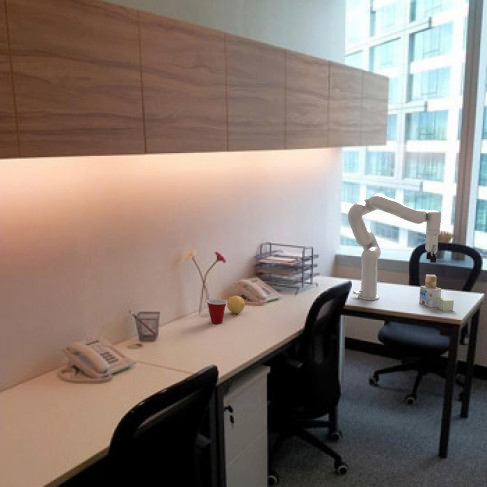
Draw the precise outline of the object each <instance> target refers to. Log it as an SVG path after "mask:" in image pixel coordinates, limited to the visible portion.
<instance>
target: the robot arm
mask: <svg viewBox="0 0 487 487" xmlns="http://www.w3.org/2000/svg"><path fill="white" fill-rule="evenodd" d="M376 210H378V211H382V212H384V213H387V214H391V215H393V216H395V217H398V218H400V219H402V220H405V221H407V222H411V223H414V224H416V225H417V224H418V225H420V224H423V223H426V225H425V226H426V228H425V235H426V239H425V250H426V257H425V258H426V260H429V263H430V264H436V263H437V255H438V254H437V252H438V250H439V248H438V246H439V244H438V243H439V236H440V234H441V221H442V219H441V218H442V212H441V211H440V210H426V209H414V208H412V207H409V206H407V205H405V204H403V203H402V201H399V200H396V199H394V198H390V197H387V196H386V195H385V194H383V193H377V194H374V195H372V196H371V197H369V198H366V199H363V200H361V201H358V202H356V203H354V204H353V205H352V206H351V207H350V208H349V210H348V213H347V221H348V224H349V226H350V229H351V232H352V234H353V236H354V238H355V241H356V244H357V246H359V247H361V248H363V251H362V253H361V258H360V259H361V260H360V261H361V262H360V263H361V276H360V277H361V278H360V279H361V282H360V284H361V286H360V289H359V290H353V291H352V294H354V295H357V297H358V299H360V300H364V301H376V300H379V299H380V296H379V295H378V294H377V292H378V290H377V289H378V259H380V257H381V253H382V252H381V248H380V246H379V243H378V240H377V239H376V236H375V234H374V233H373V232H372V231H371V230H370V229H367V227H366V224H365V222H364V220H363V216H365V215H367V214H369V213H371V212H374V211H376Z"/></svg>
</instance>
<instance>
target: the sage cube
mask: <svg viewBox="0 0 487 487" xmlns="http://www.w3.org/2000/svg"><path fill="white" fill-rule="evenodd" d="M454 303H455V300H454V299H452V298H450V297H441V298H439V304H438V307H437V308H438V309H440V310H441V311H442V310H443V312H445V311H448V310H449V311H450V310H453V311H454ZM449 311H448V312H449Z"/></svg>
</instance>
